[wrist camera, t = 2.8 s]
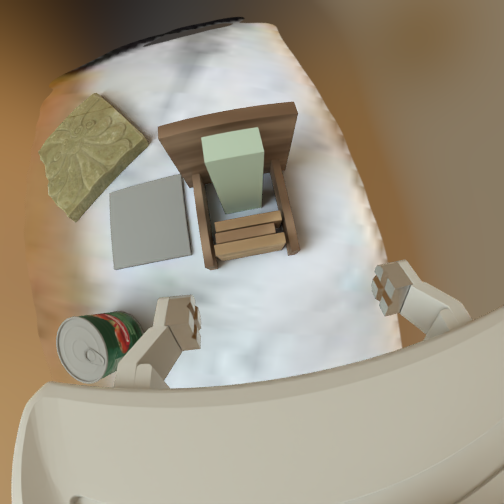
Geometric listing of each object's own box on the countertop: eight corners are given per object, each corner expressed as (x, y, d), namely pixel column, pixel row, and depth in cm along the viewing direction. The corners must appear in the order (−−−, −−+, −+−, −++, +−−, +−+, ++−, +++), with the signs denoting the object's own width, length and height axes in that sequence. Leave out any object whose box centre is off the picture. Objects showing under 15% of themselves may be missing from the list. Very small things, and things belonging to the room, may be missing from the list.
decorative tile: (101, 97, 42) (93, 88, 38) (152, 145, 40) (144, 134, 36) (39, 164, 40) (29, 157, 37) (75, 227, 38) (63, 222, 35)
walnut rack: (304, 252, 36) (331, 230, 23) (201, 271, 36) (169, 260, 22) (282, 160, 38) (293, 101, 24) (188, 178, 38) (157, 126, 24)
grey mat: (191, 254, 37) (190, 254, 36) (116, 269, 37) (114, 269, 36) (181, 175, 38) (180, 173, 38) (111, 194, 38) (109, 193, 38)
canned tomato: (96, 351, 35) (53, 366, 24) (104, 304, 36) (59, 306, 25) (140, 370, 34) (103, 394, 24) (149, 321, 36) (111, 331, 25)
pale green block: (261, 207, 37) (264, 151, 22) (225, 214, 37) (204, 162, 21) (257, 190, 38) (258, 127, 22) (222, 196, 38) (201, 137, 22)
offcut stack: (283, 249, 37) (288, 242, 31) (222, 261, 36) (215, 255, 30) (277, 219, 37) (280, 206, 31) (217, 230, 37) (209, 219, 31)
